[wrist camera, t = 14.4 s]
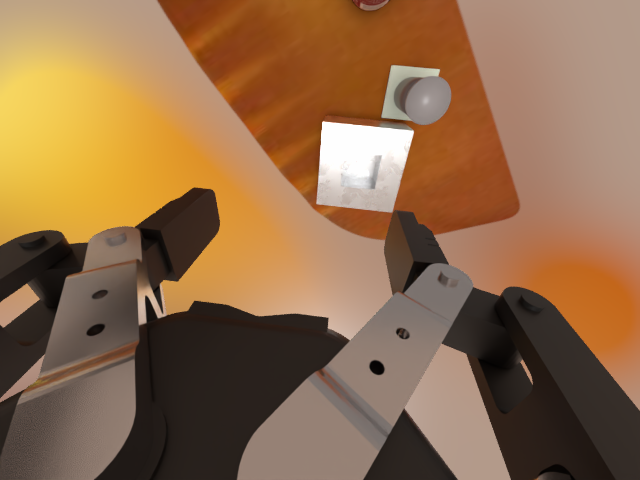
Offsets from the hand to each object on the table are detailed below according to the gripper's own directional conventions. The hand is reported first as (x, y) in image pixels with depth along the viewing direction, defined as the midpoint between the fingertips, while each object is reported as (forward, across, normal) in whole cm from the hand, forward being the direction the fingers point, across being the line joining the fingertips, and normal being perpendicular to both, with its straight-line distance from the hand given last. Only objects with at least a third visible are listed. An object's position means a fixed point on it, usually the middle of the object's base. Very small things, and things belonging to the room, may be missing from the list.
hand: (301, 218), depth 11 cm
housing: (+36, -5, +7) cm, 37 cm away
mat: (+36, -11, -4) cm, 38 cm away
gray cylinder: (+36, -11, -4) cm, 37 cm away
